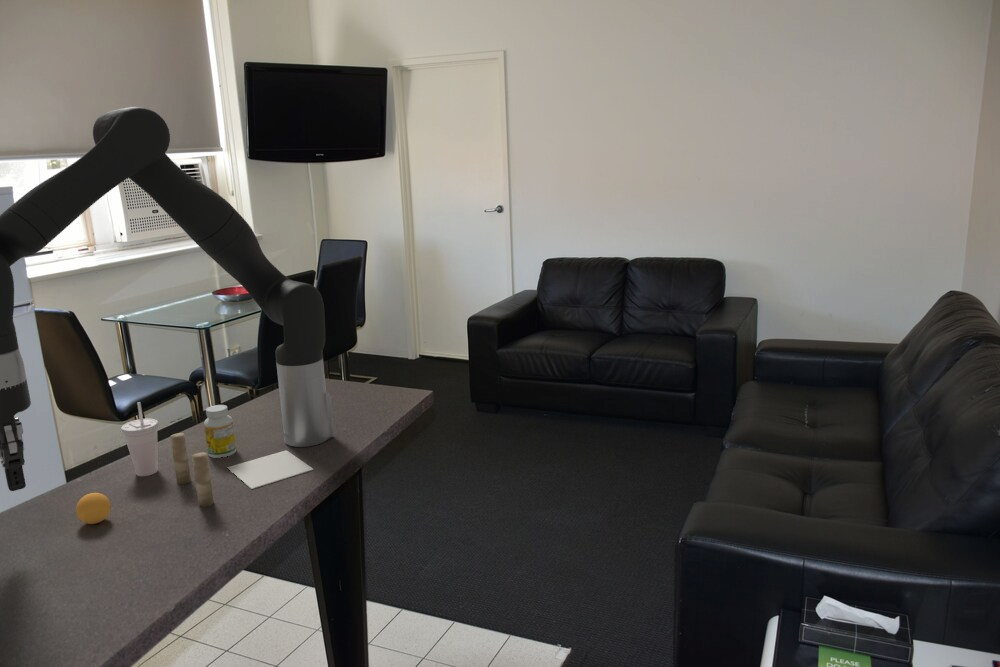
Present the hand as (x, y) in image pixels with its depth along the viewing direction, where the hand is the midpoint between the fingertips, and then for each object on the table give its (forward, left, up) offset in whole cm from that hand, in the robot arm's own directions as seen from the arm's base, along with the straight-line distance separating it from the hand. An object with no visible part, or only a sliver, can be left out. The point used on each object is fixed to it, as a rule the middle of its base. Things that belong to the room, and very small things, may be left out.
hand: (17, 488), depth 115 cm
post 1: (-26, -6, -9) cm, 28 cm away
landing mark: (-40, 0, -9) cm, 41 cm away
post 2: (-26, +6, -9) cm, 28 cm away
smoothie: (-22, -15, -10) cm, 28 cm away
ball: (-10, 0, -7) cm, 12 cm away
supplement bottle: (-36, -14, -10) cm, 39 cm away
